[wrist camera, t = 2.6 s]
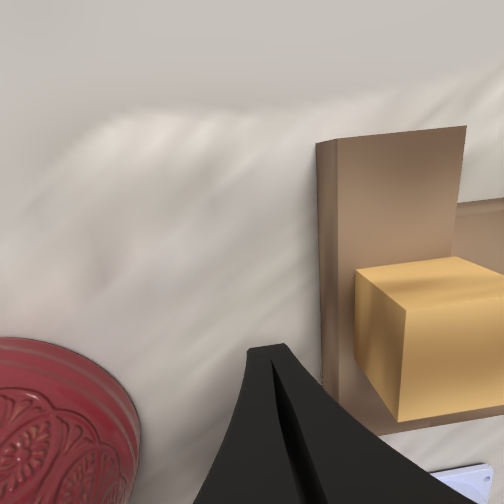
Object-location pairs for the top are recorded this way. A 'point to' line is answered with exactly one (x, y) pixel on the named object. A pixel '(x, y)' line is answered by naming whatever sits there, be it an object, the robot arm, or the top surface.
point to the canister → (63, 428)
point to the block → (431, 336)
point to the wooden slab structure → (392, 243)
